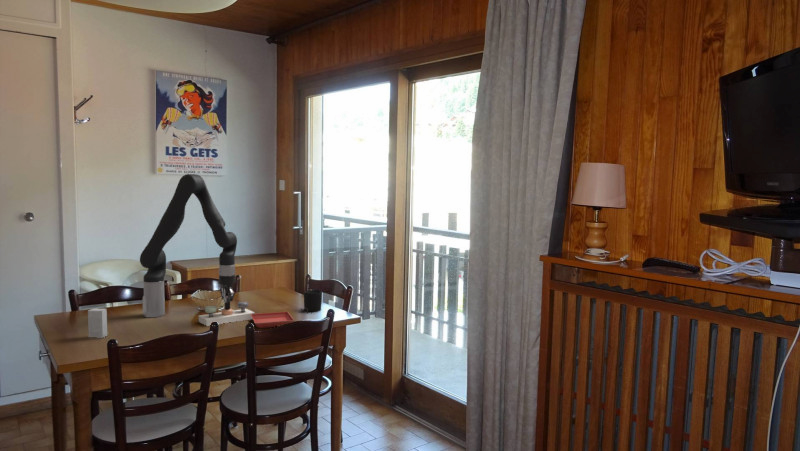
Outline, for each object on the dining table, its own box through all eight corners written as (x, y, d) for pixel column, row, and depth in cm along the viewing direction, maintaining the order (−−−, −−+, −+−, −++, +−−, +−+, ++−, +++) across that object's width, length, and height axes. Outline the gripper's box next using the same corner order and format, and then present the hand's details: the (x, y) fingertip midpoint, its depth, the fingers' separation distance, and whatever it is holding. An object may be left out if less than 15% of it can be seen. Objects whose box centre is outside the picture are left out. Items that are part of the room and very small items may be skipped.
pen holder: (302, 308, 296) (302, 289, 295) (320, 307, 298) (320, 289, 297) (304, 312, 287) (304, 293, 286) (322, 311, 289) (322, 293, 288)
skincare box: (107, 335, 239) (107, 308, 238) (102, 338, 235) (102, 310, 234) (93, 335, 239) (92, 308, 238) (88, 338, 235) (87, 310, 234)
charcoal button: (240, 314, 270) (240, 304, 270) (235, 312, 274) (235, 302, 274) (250, 313, 273) (250, 303, 273) (245, 311, 277) (245, 301, 277)
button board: (206, 326, 257) (206, 320, 257) (198, 321, 265) (198, 315, 265) (255, 318, 273) (255, 312, 272) (246, 314, 280) (246, 308, 280)
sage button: (207, 319, 260) (207, 308, 259) (203, 317, 264) (203, 306, 263) (218, 318, 263) (218, 307, 263) (214, 315, 267) (214, 305, 267)
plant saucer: (250, 320, 271) (250, 313, 271) (287, 317, 278) (287, 311, 277) (254, 330, 254) (254, 323, 254) (294, 327, 261) (294, 320, 260)
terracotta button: (224, 321, 265) (224, 311, 265) (219, 319, 269) (219, 309, 269) (234, 320, 268) (234, 309, 268) (230, 317, 272) (230, 307, 272)
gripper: (214, 272, 269) (214, 307, 271) (225, 276, 259) (225, 313, 261) (228, 271, 274) (229, 305, 276) (240, 275, 264) (240, 311, 266)
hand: (227, 309), depth 268 cm, fingers closed
